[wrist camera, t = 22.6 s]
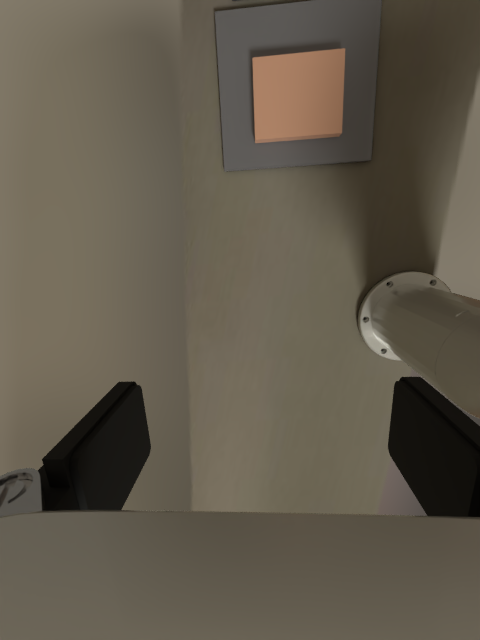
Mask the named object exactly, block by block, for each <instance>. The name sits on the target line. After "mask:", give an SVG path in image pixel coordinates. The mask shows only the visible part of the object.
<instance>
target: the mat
mask: <svg viewBox="0 0 480 640" xmlns="http://www.w3.org/2000/svg"><path fill="white" fill-rule="evenodd" d="M381 6H382V0H311V1H302V2H294V3H285V4H276V5H268V6H259V7H250V8H242V9H233V10H224V11H216V12H215V23H216V40H217V57H218V73H219V90H220V107H221V123H222V140H223V157H224V171H238V170H252V169H266V168H280V167H293V166H307V165H321V164H335V163H349V162H362V161H371V157H372V142H373V127H374V112H375V97H376V81H377V66H378V51H379V36H380V21H381ZM342 48H345V70H344V95H343V119H342V134H341V135H340V136H339V137H329V138H316V139H304V140H291V141H278V142H266V143H255V121H254V91H253V60H252V58H254V57H263V56H273V55H283V54H293V53H303V52H312V51H322V50H332V49H342Z"/></svg>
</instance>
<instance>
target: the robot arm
mask: <svg viewBox="0 0 480 640" xmlns="http://www.w3.org/2000/svg"><path fill="white" fill-rule="evenodd" d="M430 281H431V282H430ZM387 282H388V283H389V284H388V285H386V284H387ZM364 317H365V319H364V320H363V318H364ZM358 328H359V331H360V334H361V337H362V338H363V340H364V342H365V343H366V344H367V345H368V346H369V348H371V349H372V350H373V351H374V352H375V353H377V354H378V355H380V356H382V357H385V358H388V359H392V360H402V361H404V362H405V363H406V364H407V365H408V366H410V367H411V368H412V369H413V370H414V371H416V372H417V373H418V374H419V375H421V376H422V377H423V378H425V380H427V381H428V382H429V383H430V384H431V385H433V386H434V387H435V388H436V389H438V390H439V391H440V392H441V393H442V394H444V395H445V396H446V397H447V398H448V399H450V400H451V401H452V402H454V403H455V404H456V405H457V406H459V407H460V408H461V409H463V410H464V411H466V412H467V413H469V414H471V415H473V416H475V417H477V418H479V419H480V300H477V299H473V298H469V297H465V296H462V295H458V294H454V293H451V291H450V289H449V288H448V287H447V286H446V284H445V283H444V282H442V281H441V280H440V279H439V278H437V277H435V276H432V275H430V274H426V273H422V272H416V271H408V272H401V273H396V274H393V275H391V276H389V277H386V278H385V279H383V280H381V281H380V282H378V283H377V284H376V285H375V286H374V287H373V288H372V289H371V290H370V291H369V292H368V293H367V295H366V296H365V298H364V300H363V302H362V304H361V306H360V310H359V314H358ZM381 349H382V350H381ZM425 380H423V379H422V378H421V377H402V378H400V380H399V381H396V382H395V385H394V394H393V403H392V413H391V422H390V432H389V441H388V449H389V453H390V456H391V457H392V459H393V461H394V462H395V464H396V466H397V467H398V469H399V470H400V472H401V474H402V475H403V477H404V479H405V480H406V482H407V483H408V485H409V487H410V488H411V490H412V491H413V493H414V495H415V496H416V498H417V499H418V501H419V503H420V504H421V506H422V508H423V509H424V511H425V513H426V514H427V516H409V515H407V516H405V515H367V514H319V513H267V512H208V511H131V510H126V511H125V510H121V509H122V507H123V505H124V503H125V501H126V500H127V498H128V496H129V494H130V492H131V490H132V488H133V486H134V484H135V482H136V480H137V478H138V476H139V474H140V472H141V470H142V468H143V466H144V464H145V462H146V460H147V458H148V456H149V454H150V449H151V444H150V438H149V432H148V425H147V420H146V413H145V407H144V401H143V395H142V389H141V387H140V386H139V385H137V384H136V383H135V382H119V383H117V384H116V385H115V386H114V387H113V388H112V389H111V390H110V391H109V392H108V393H107V394H106V395H105V396H104V397H103V398H102V399H101V400H100V401H99V402H98V403H97V404H96V405H95V407H93V408H92V409H91V410H90V411H89V413H88V414H87V415H85V417H83V418H82V419H81V421H79V422H78V423H77V424H76V426H75V427H74V428H73V429H72V430H71V431H70V432H69V433H68V434H67V435H66V436H65V437H64V438H63V439H62V440H61V441H60V442H59V443H58V444H57V445H56V446H55V447H54V448H53V449H52V450H51V451H50V452H49V453H48V454H47V455H46V456H45V457H44V458H43V459H42V461H43V464H44V465H43V466H42V467H41V468H40V469H39V470H38V471H37V470H35V469H32V468H24V469H18V470H15V471H11V472H9V473H6V474H4V475H2V476H0V640H480V426H479V425H477V424H476V423H475V422H474V421H473V420H471V419H470V418H469V417H468V416H467V415H465V414H464V413H463V412H462V411H461V410H459V409H458V408H457V407H456V406H455V405H453V404H452V403H451V402H450V401H449V400H448V399H446V398H445V397H444V396H443V395H441V394H440V393H439V392H438V391H437V390H435V389H434V388H433V387H432V386H431V385H429V384H428V383H427V382H426V381H425Z"/></svg>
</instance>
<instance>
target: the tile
mask: <svg viewBox="0 0 480 640" xmlns="http://www.w3.org/2000/svg"><path fill="white" fill-rule="evenodd" d="M252 60H253V91H254V121H255V143H266V142H278V141H291V140H304V139H316V138H329V137H339V136H340V135H341V134H342V119H343V95H344V70H345V48H342V49H332V50H322V51H312V52H303V53H293V54H283V55H273V56H263V57H254V58H252Z"/></svg>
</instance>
